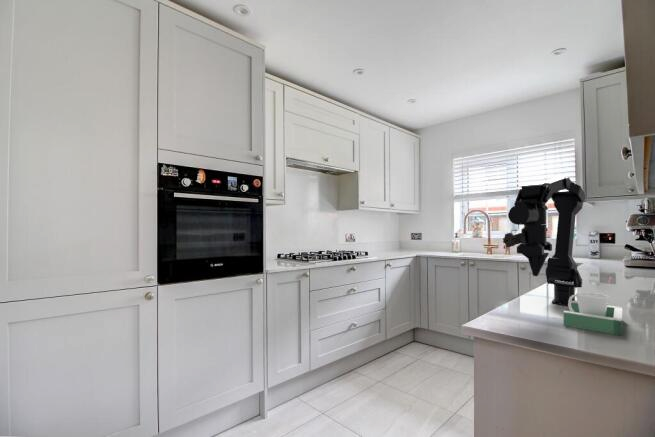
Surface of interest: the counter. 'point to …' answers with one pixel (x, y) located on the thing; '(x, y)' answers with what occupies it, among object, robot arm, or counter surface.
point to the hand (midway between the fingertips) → (535, 275)
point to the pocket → (595, 320)
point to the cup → (590, 303)
